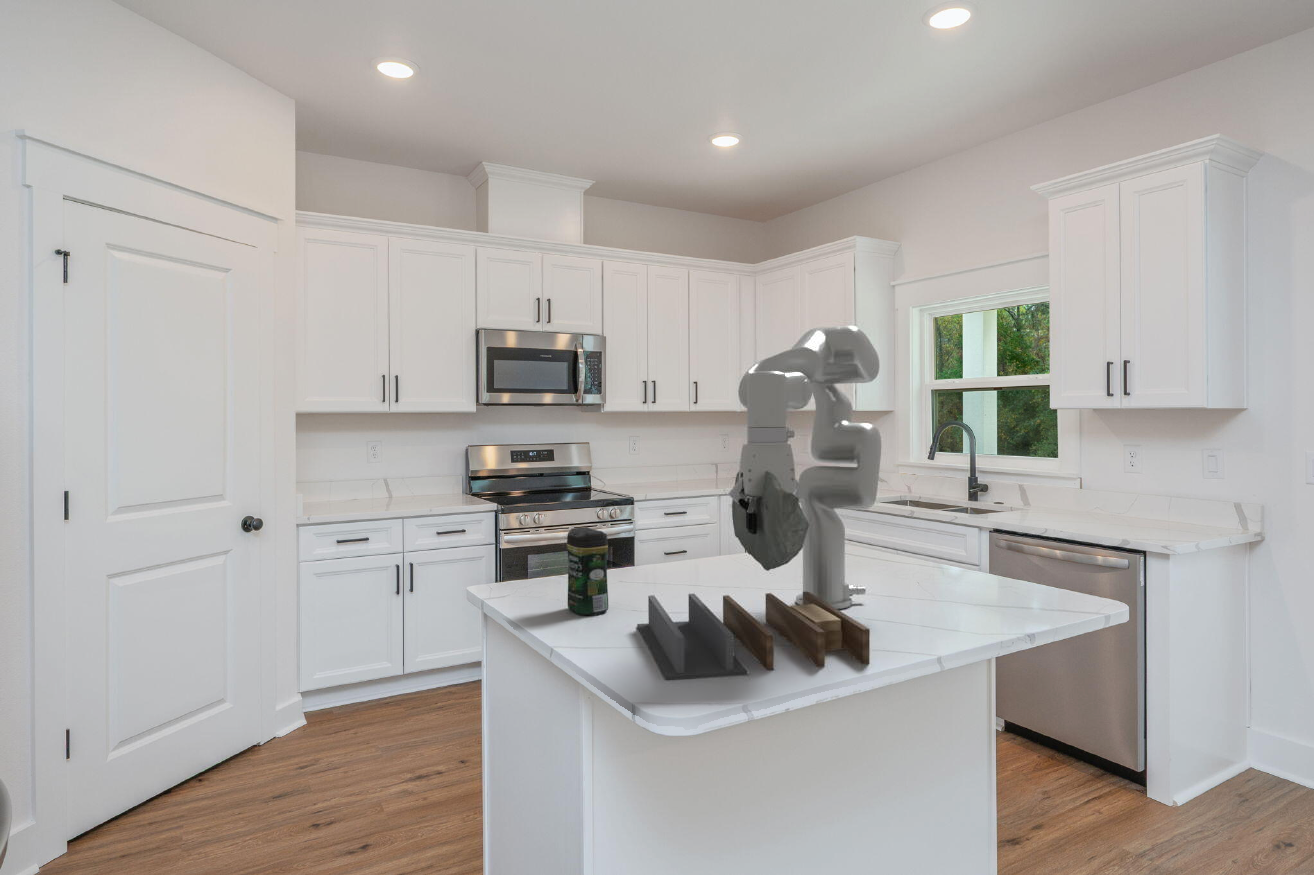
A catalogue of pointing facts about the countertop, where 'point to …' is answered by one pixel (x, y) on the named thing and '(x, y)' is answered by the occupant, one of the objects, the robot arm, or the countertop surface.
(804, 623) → the walnut rack
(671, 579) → the countertop surface
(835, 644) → the offcut
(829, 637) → the offcut
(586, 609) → the coffee jar
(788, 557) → the rock
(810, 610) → the offcut
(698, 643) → the slab stand
